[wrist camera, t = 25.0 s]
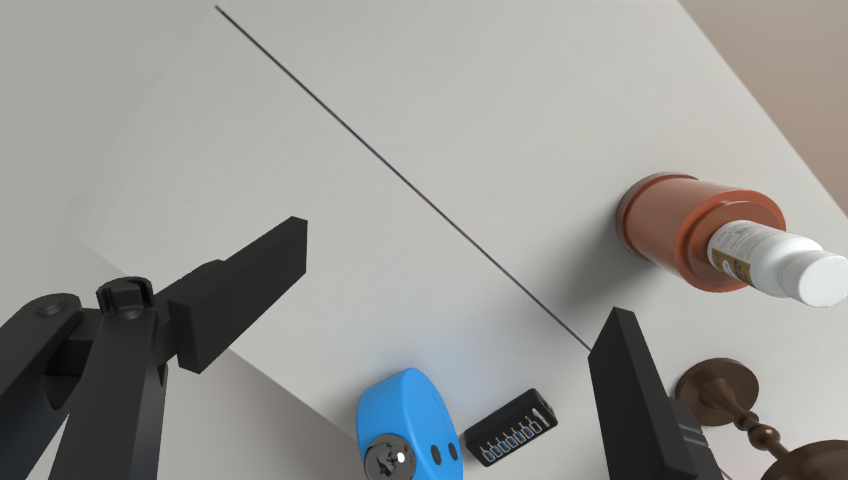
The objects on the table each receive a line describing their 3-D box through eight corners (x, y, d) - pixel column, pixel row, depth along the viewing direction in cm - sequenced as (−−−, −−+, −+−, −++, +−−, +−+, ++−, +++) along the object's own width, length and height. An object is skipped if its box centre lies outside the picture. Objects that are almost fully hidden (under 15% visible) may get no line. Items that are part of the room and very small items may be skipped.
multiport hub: (463, 432, 49) (464, 446, 47) (533, 387, 47) (538, 399, 45) (483, 454, 50) (486, 469, 48) (553, 410, 48) (559, 424, 46)
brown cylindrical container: (613, 180, 40) (674, 198, 30) (707, 164, 39) (802, 176, 29) (617, 264, 43) (674, 306, 32) (705, 250, 42) (792, 289, 32)
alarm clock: (367, 365, 47) (336, 469, 33) (410, 343, 46) (398, 441, 32) (420, 441, 50) (414, 568, 36) (462, 423, 49) (473, 545, 35)
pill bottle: (693, 258, 31) (774, 298, 24) (727, 210, 30) (823, 236, 23) (738, 279, 32) (832, 326, 24) (773, 233, 30) (883, 266, 23)
